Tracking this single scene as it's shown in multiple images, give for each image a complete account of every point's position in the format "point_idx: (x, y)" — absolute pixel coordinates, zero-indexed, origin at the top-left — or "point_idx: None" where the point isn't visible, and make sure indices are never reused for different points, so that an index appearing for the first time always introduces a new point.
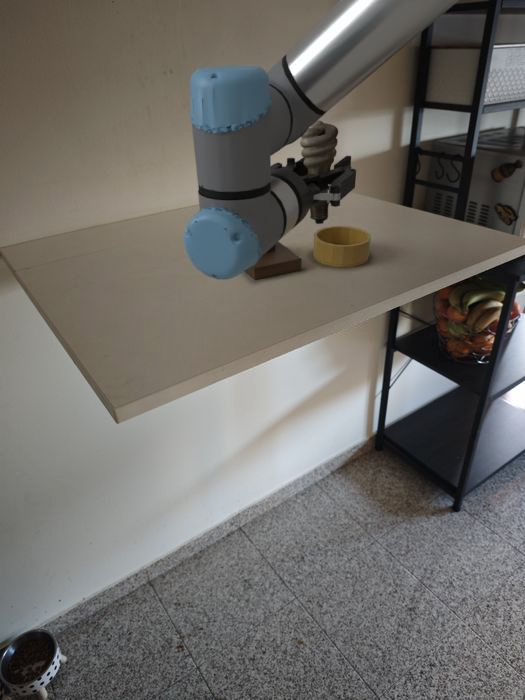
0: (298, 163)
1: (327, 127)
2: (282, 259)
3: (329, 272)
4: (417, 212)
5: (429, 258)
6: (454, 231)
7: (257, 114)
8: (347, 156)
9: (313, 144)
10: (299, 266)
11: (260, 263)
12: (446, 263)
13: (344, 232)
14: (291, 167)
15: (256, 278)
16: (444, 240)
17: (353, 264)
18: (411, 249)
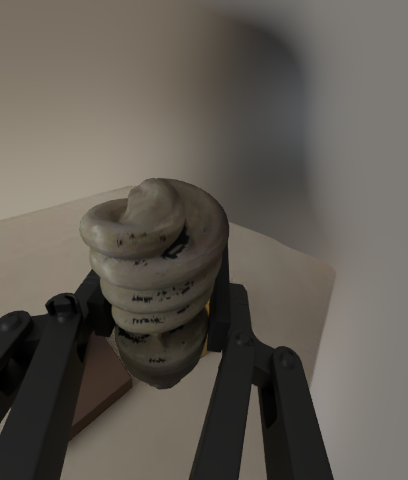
0: (95, 305)
1: (187, 199)
2: (96, 393)
3: (178, 383)
4: (234, 224)
5: (281, 309)
6: (276, 252)
7: None
8: None
9: (145, 290)
10: (129, 386)
11: None
12: (302, 318)
13: None
14: (57, 366)
15: None
16: (276, 269)
17: (208, 352)
18: (256, 292)
